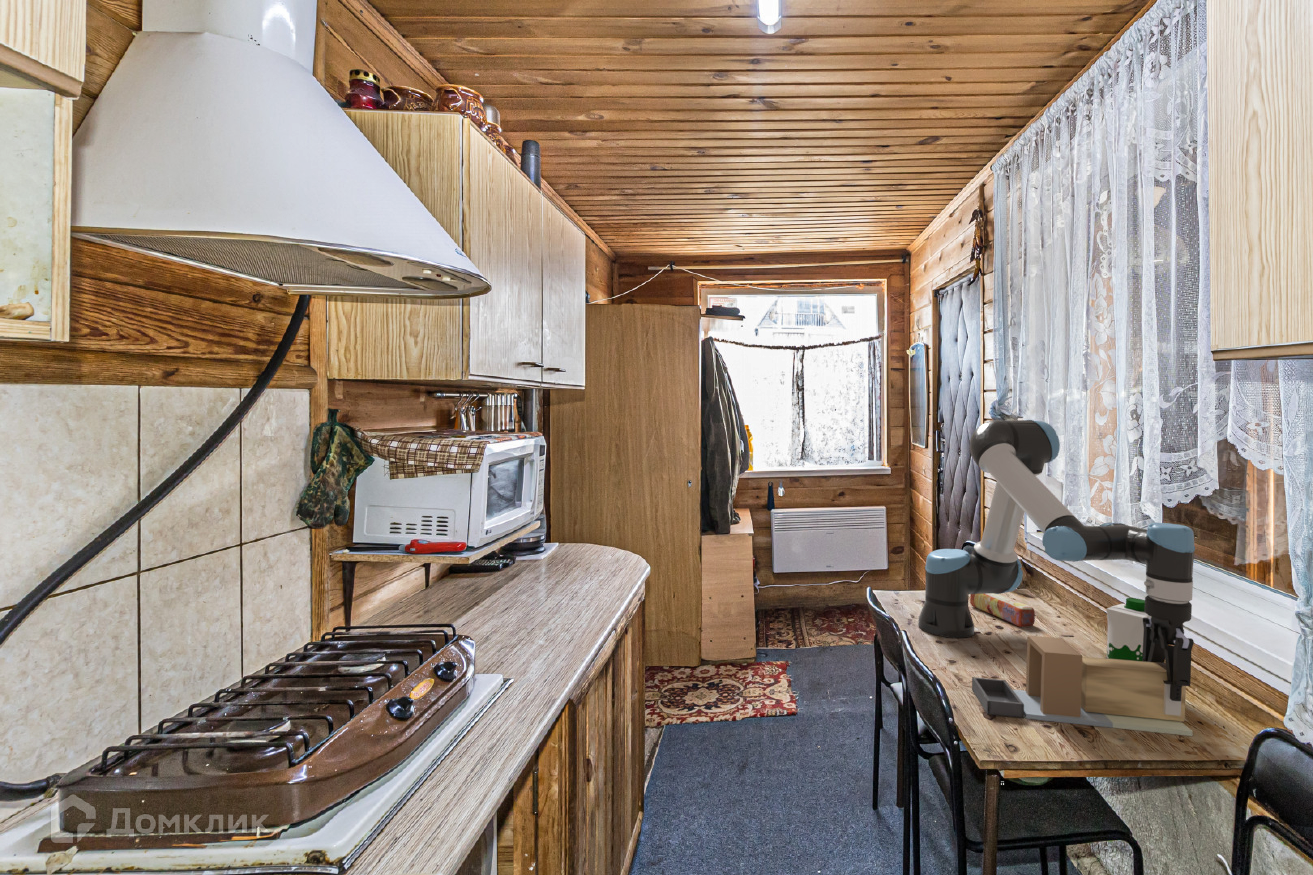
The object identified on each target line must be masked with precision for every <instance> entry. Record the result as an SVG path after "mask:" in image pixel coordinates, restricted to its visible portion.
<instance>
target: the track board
mask: <svg viewBox="0 0 1313 875" xmlns="http://www.w3.org/2000/svg"><path fill="white" fill-rule="evenodd" d="M1026 640H1027V643H1026V644H1027V645H1026V647H1027V648H1026V677H1025V690H1021V689H1013V688H1012V690H1013V691H1014V692H1015V693H1016V695H1017V696H1018V697H1019V699H1020V700H1021V701H1022V702H1023V704H1024V718H1025V719H1028V720H1034V721H1036V720H1038V721H1046V722H1056V723H1065V724H1073V725H1074V724H1075V725H1081V726H1082V725H1083V726H1094V727H1102V728H1112V729H1122V730H1123V729H1124V730H1131V731H1138V732H1139V731H1141V732H1148V733H1158V734H1161V733H1162V734H1170V735H1178V736H1179V735H1180V736H1188V737H1193V732H1194V730H1192V729H1191V728H1189V727H1188V726H1187V725H1186V724H1185V723H1183V721H1175V720H1165V719H1155V718H1145V717H1136V716H1126V715H1116V714H1106V713H1096V712H1086V711H1085V710H1084V709H1083V708H1082V707H1081V684H1082V656H1083V654H1082V653H1080V652H1079V651H1078V650H1077V649H1076V648H1075V647H1073V646H1072V645H1071V644H1070V643H1068V642H1067V641H1066V640H1065V639H1064V638H1063V637H1053V636H1040V635H1039V636H1038V635H1028V634H1027V639H1026Z"/></svg>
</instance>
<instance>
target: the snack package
mask: <svg viewBox="0 0 1313 875" xmlns="http://www.w3.org/2000/svg"><path fill="white" fill-rule="evenodd" d="M969 598H970V599H969V603H970V605H971V607H973V608H976V609H978V610H980V611H983V612H984V613H988V614H990V615H992V616H994V617H997V618H999V619H1002V620H1003V621H1005V622H1008V623H1010V624H1012V625H1015V626H1016V627H1019V628H1030V627H1033V626H1034V624H1035V623H1036V620H1035V619H1036V617H1035V616H1036V612H1035V609H1034V607H1032V606H1030V605H1027V604H1025V603H1022V602H1019V601H1017V600H1014V599H1012V598H1010V597H1007V596H1005V595H1001V594H994V593H988V594H969Z"/></svg>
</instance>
